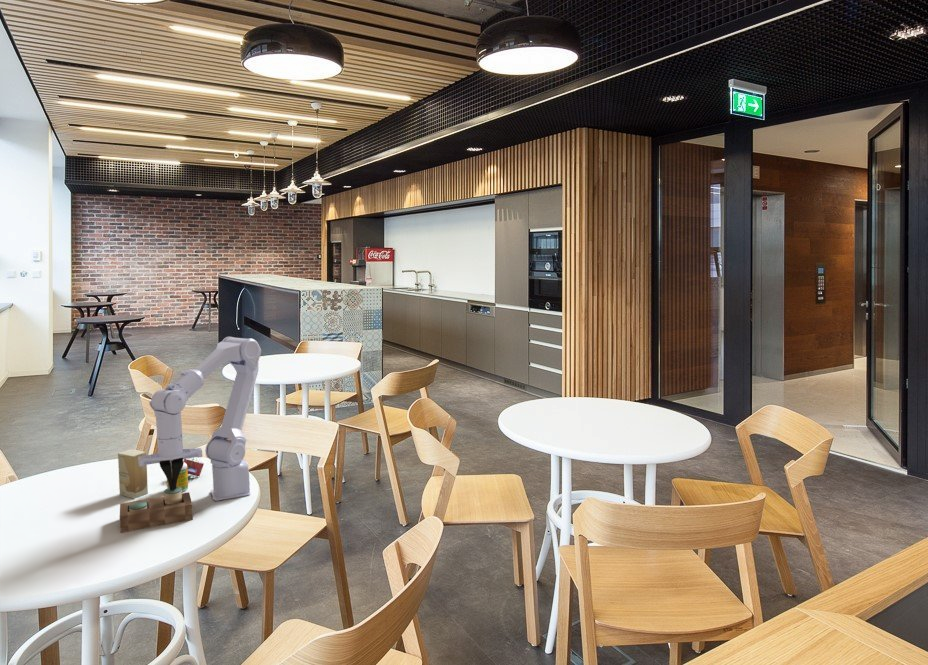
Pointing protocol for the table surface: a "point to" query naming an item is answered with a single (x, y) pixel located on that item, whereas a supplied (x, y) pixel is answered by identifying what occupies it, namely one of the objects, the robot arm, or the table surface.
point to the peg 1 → (137, 506)
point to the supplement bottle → (182, 478)
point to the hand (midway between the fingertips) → (172, 488)
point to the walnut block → (155, 513)
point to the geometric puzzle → (194, 467)
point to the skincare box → (132, 474)
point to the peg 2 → (173, 496)
